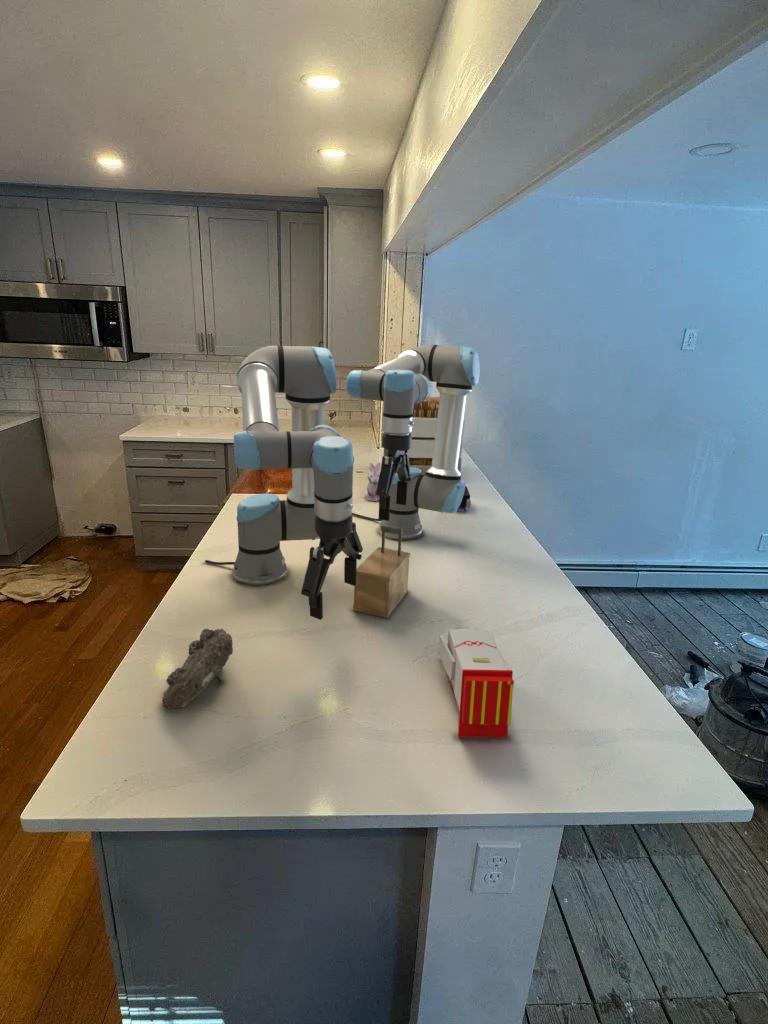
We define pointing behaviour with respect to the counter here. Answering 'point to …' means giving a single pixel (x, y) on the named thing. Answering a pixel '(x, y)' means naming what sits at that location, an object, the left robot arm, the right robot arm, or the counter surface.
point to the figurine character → (465, 500)
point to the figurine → (373, 482)
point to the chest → (380, 592)
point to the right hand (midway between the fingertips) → (392, 511)
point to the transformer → (425, 433)
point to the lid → (384, 558)
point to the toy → (478, 682)
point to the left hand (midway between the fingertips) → (334, 599)
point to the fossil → (198, 667)
